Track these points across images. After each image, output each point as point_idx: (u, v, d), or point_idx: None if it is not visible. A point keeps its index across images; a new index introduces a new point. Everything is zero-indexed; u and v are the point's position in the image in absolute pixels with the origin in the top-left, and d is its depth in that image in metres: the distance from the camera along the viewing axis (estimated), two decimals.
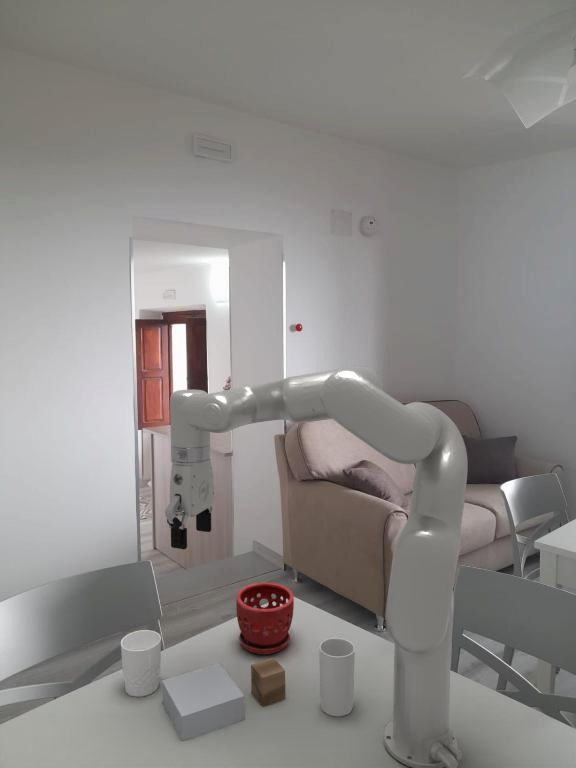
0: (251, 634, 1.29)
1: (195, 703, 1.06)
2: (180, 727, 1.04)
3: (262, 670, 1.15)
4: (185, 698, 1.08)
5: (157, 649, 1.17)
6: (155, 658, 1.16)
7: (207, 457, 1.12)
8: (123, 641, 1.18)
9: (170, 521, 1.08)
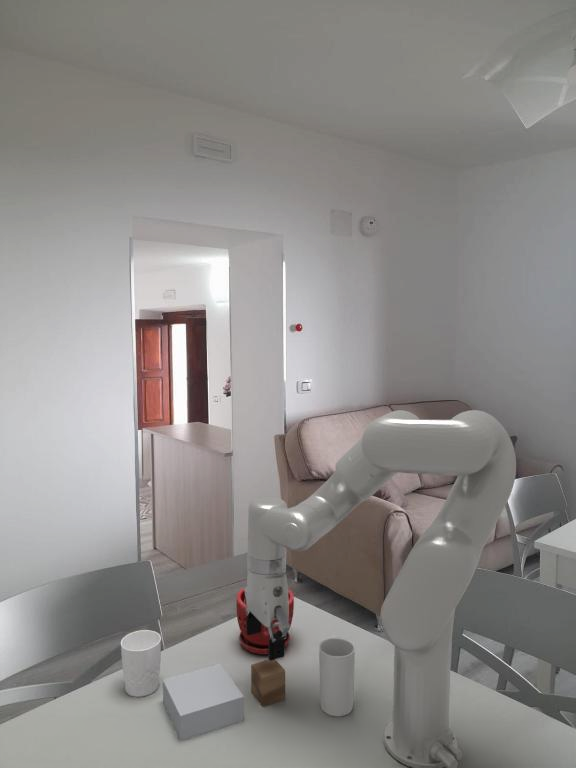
0: None
1: (194, 703, 1.06)
2: (179, 726, 1.04)
3: (262, 670, 1.15)
4: (185, 698, 1.08)
5: (157, 649, 1.17)
6: (155, 658, 1.16)
7: None
8: (123, 641, 1.18)
9: (284, 635, 1.08)
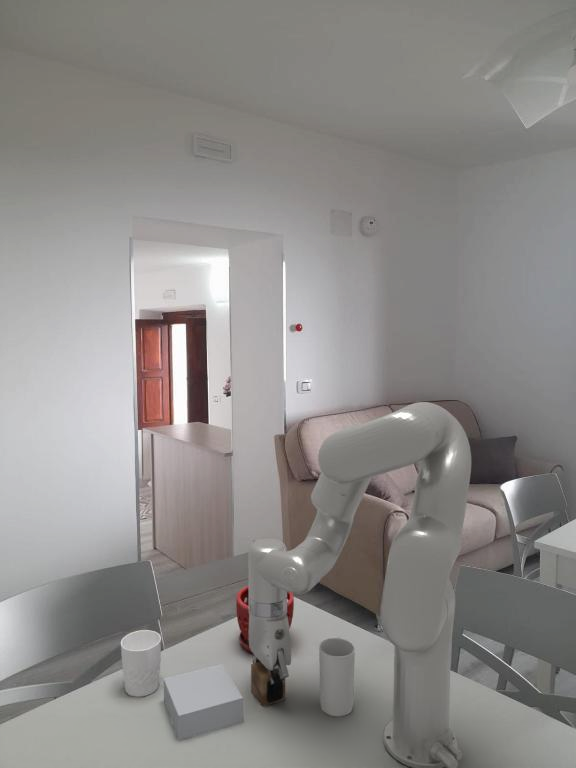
0: None
1: (193, 703, 1.07)
2: (177, 726, 1.04)
3: (262, 670, 1.15)
4: (184, 697, 1.08)
5: (157, 649, 1.17)
6: (155, 658, 1.16)
7: None
8: (123, 641, 1.18)
9: (281, 679, 1.11)
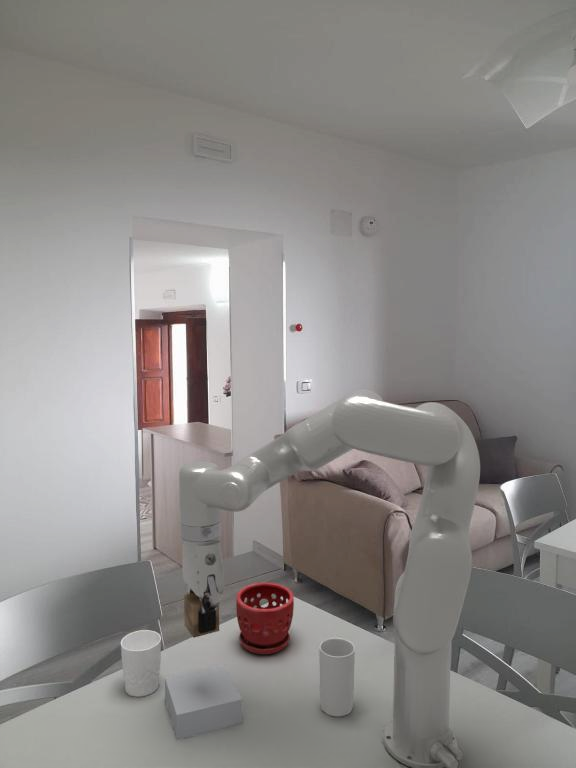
0: (251, 634, 1.29)
1: (192, 703, 1.07)
2: (176, 725, 1.05)
3: (194, 599, 1.08)
4: (184, 697, 1.08)
5: (157, 649, 1.17)
6: (155, 658, 1.16)
7: None
8: (123, 641, 1.18)
9: (212, 607, 1.04)
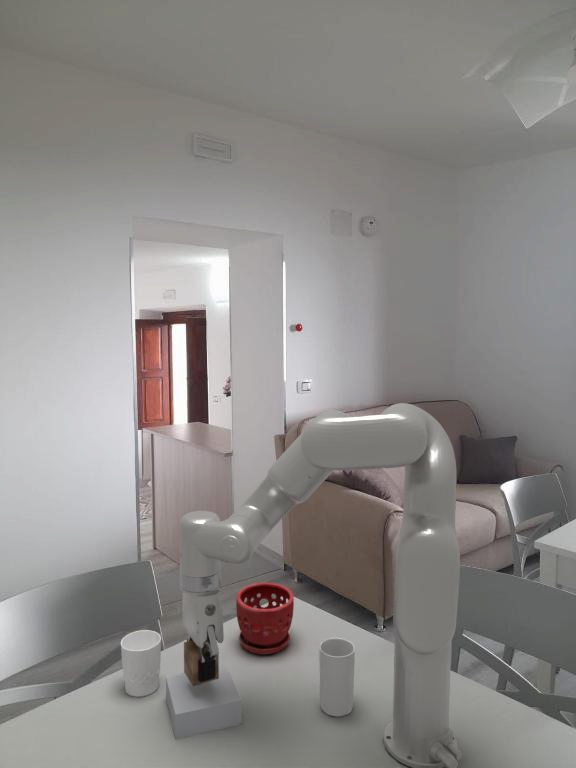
0: (251, 634, 1.29)
1: (191, 703, 1.07)
2: (174, 725, 1.05)
3: (194, 648, 1.09)
4: (183, 696, 1.08)
5: (157, 649, 1.17)
6: (155, 658, 1.16)
7: None
8: (123, 641, 1.18)
9: (212, 657, 1.05)
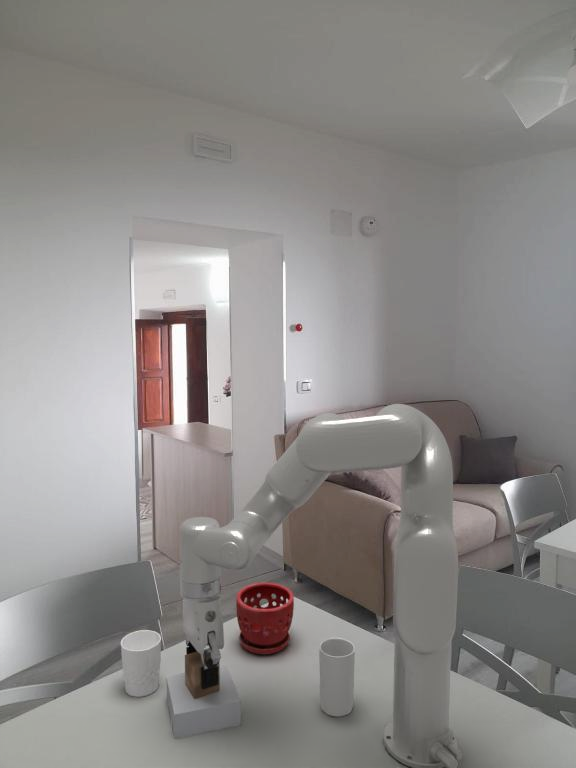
0: (251, 634, 1.29)
1: (191, 703, 1.07)
2: (174, 725, 1.05)
3: (195, 660, 1.10)
4: (183, 696, 1.08)
5: (157, 649, 1.17)
6: (155, 658, 1.16)
7: None
8: (123, 641, 1.18)
9: (214, 663, 1.04)
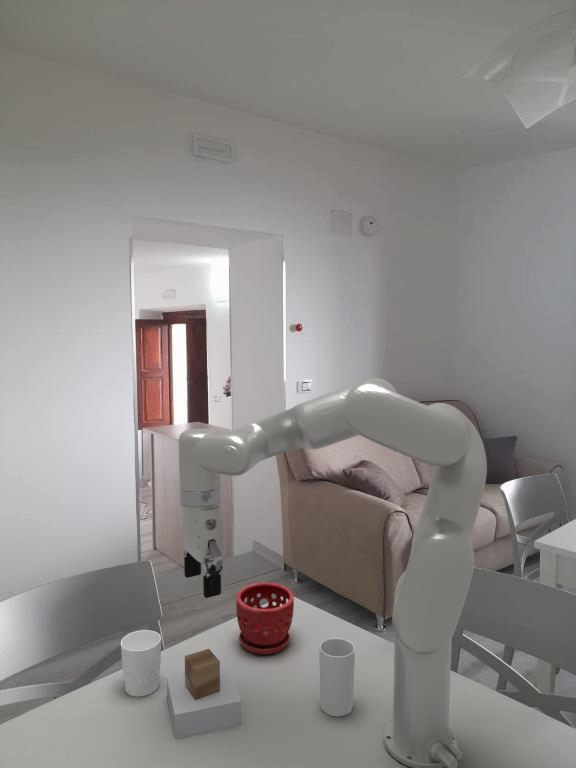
0: (251, 634, 1.29)
1: (191, 703, 1.07)
2: (174, 725, 1.05)
3: (195, 661, 1.09)
4: (183, 696, 1.08)
5: (157, 649, 1.17)
6: (155, 658, 1.16)
7: None
8: (123, 641, 1.18)
9: (217, 568, 1.03)
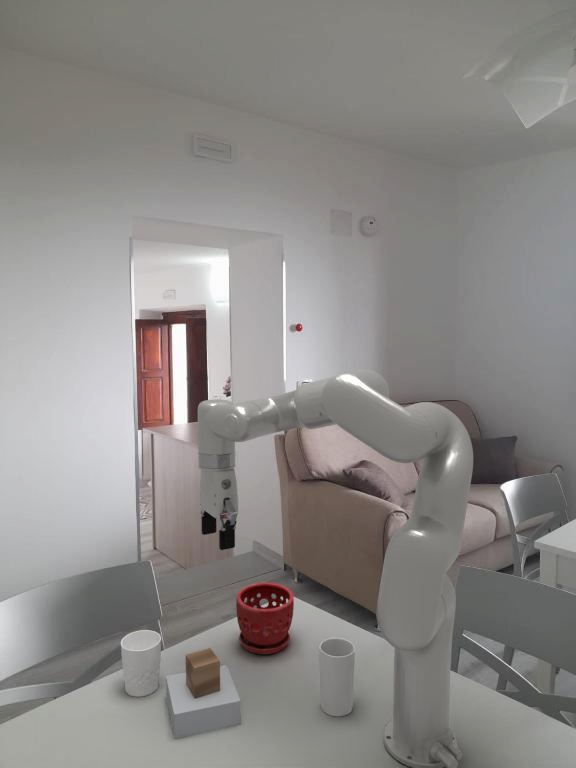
0: (251, 634, 1.29)
1: (190, 703, 1.07)
2: (173, 725, 1.05)
3: (196, 660, 1.10)
4: (183, 696, 1.09)
5: (157, 649, 1.17)
6: (155, 658, 1.16)
7: None
8: (123, 641, 1.18)
9: (232, 523, 1.15)
